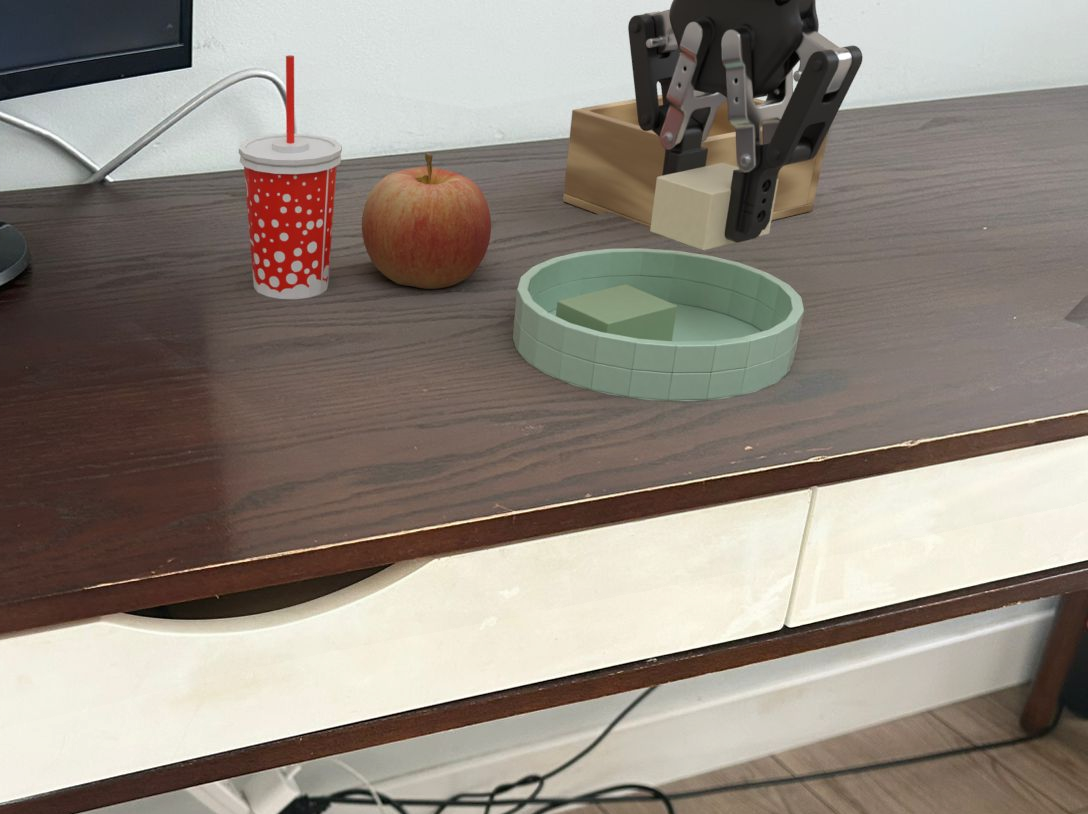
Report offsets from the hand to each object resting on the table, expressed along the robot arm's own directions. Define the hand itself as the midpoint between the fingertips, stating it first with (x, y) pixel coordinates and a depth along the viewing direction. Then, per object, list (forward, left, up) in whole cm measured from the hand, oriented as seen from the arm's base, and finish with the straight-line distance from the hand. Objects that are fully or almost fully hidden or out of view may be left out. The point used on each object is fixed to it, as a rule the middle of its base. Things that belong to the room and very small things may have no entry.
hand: (709, 226), depth 74 cm
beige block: (0, 0, 0) cm, 0 cm away
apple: (+7, -16, -7) cm, 19 cm away
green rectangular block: (+6, 0, -6) cm, 9 cm away
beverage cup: (+15, -19, -7) cm, 25 cm away
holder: (-19, -19, -7) cm, 28 cm away
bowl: (+3, 0, -7) cm, 7 cm away
